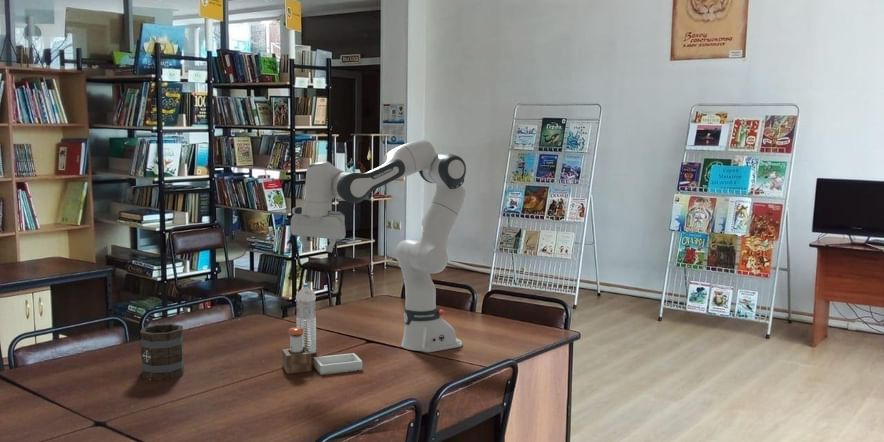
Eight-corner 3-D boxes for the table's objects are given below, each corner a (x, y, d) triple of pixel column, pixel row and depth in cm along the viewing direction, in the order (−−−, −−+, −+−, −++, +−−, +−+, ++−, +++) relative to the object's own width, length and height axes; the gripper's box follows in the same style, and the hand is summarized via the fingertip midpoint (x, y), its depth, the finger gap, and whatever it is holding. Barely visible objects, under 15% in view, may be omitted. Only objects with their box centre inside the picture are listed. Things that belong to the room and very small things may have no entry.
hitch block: (306, 364, 260) (305, 346, 260) (311, 371, 253) (311, 353, 252) (282, 366, 257) (282, 349, 257) (286, 373, 250) (286, 355, 249)
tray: (354, 361, 264) (354, 353, 263) (362, 370, 254) (362, 361, 254) (313, 366, 258) (313, 357, 258) (320, 374, 249) (320, 365, 249)
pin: (302, 366, 258) (301, 326, 257) (305, 370, 254) (304, 330, 252) (288, 367, 256) (287, 328, 255) (290, 371, 252) (290, 331, 250)
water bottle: (312, 356, 269) (311, 286, 266) (293, 355, 271) (292, 285, 268) (319, 350, 276) (318, 282, 273) (301, 349, 277) (300, 281, 274)
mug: (191, 375, 247) (189, 330, 246) (147, 383, 240) (146, 336, 238) (172, 360, 263) (170, 318, 261) (131, 367, 255) (129, 323, 254)
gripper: (349, 211, 257) (348, 252, 258) (299, 207, 266) (298, 246, 267) (339, 212, 251) (338, 254, 253) (288, 208, 260) (287, 248, 261)
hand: (317, 250), depth 260 cm, fingers open, 8 cm apart
